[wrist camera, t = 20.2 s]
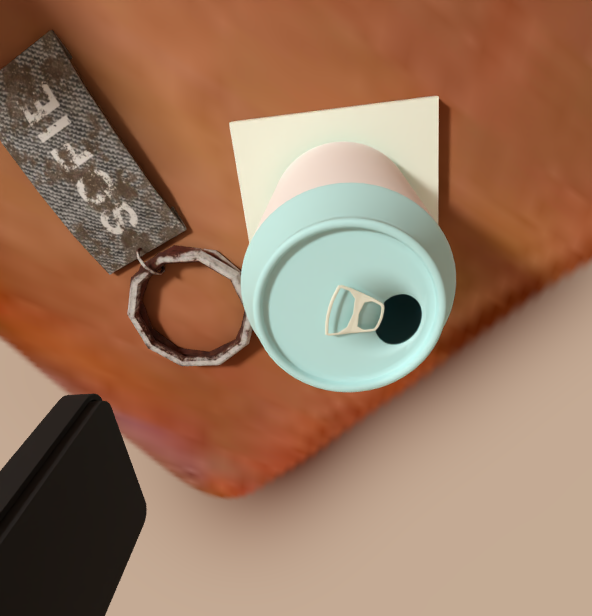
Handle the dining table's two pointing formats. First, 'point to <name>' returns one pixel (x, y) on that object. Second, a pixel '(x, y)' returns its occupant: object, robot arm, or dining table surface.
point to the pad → (336, 128)
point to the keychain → (98, 184)
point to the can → (347, 271)
